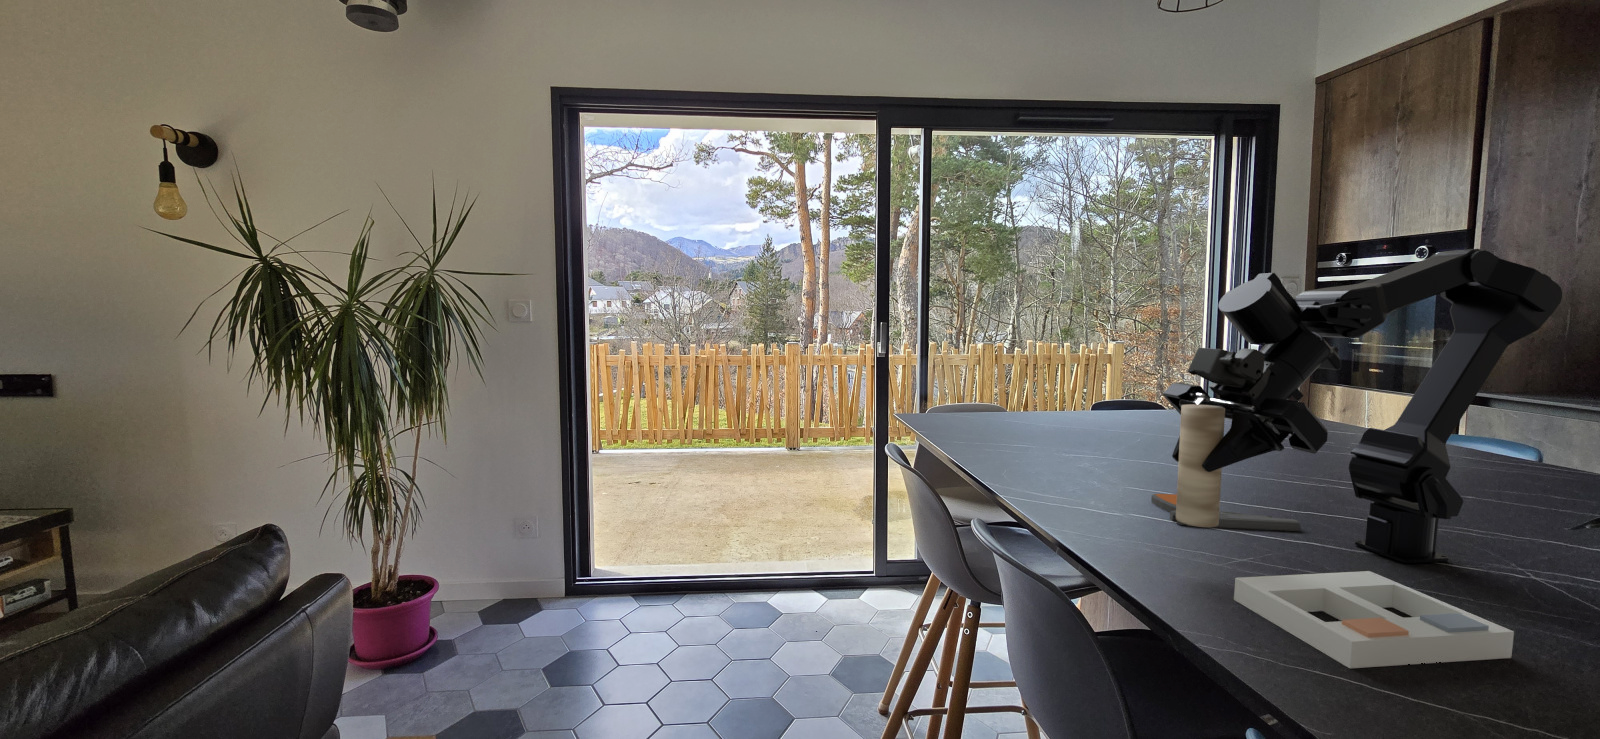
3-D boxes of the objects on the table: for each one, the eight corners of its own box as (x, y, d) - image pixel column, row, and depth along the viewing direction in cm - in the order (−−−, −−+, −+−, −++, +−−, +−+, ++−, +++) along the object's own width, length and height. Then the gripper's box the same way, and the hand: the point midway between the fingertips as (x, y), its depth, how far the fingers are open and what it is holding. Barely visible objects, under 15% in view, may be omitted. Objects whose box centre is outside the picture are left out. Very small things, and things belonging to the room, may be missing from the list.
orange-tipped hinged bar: (1254, 508, 99) (1300, 535, 88) (1147, 503, 102) (1179, 529, 90) (1255, 497, 99) (1301, 523, 87) (1148, 493, 102) (1179, 517, 90)
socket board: (1367, 592, 69) (1369, 567, 69) (1511, 657, 56) (1514, 627, 56) (1233, 599, 67) (1235, 574, 67) (1349, 668, 55) (1352, 637, 54)
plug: (1198, 513, 78) (1204, 403, 76) (1227, 525, 73) (1234, 409, 72) (1167, 516, 77) (1172, 405, 76) (1195, 528, 73) (1201, 410, 71)
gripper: (1179, 322, 83) (1099, 406, 82) (1312, 326, 64) (1210, 435, 64) (1229, 379, 84) (1151, 462, 84) (1372, 399, 66) (1273, 505, 66)
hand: (1189, 464), depth 74 cm, fingers closed on plug, 4 cm apart
